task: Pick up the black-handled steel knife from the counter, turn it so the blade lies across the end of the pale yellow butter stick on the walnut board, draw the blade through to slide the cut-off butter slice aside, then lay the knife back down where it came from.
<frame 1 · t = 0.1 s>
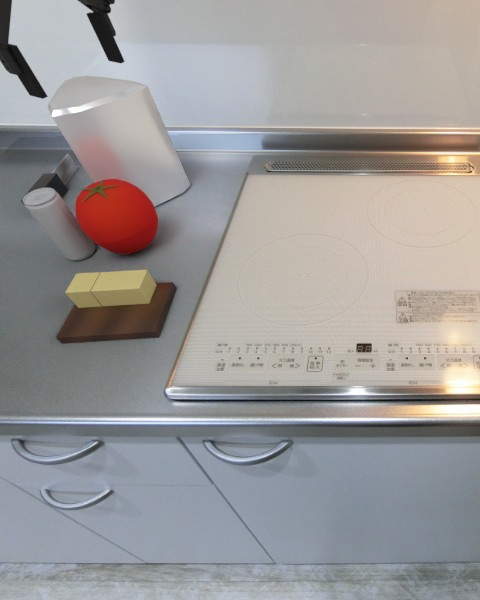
hand: (80, 77, 65), 25 cm above the counter, tool pointing down, fingers open, 13 cm apart
butter block: (130, 295, 68), point 1 cm above the counter, touching board
white plastic container: (140, 200, 87), on the counter
board: (122, 314, 67), on the counter
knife: (61, 190, 89), on the counter
butter slice: (95, 297, 68), point 1 cm above the counter, touching board
tomato: (136, 247, 78), on the counter
beverage can: (82, 253, 77), on the counter
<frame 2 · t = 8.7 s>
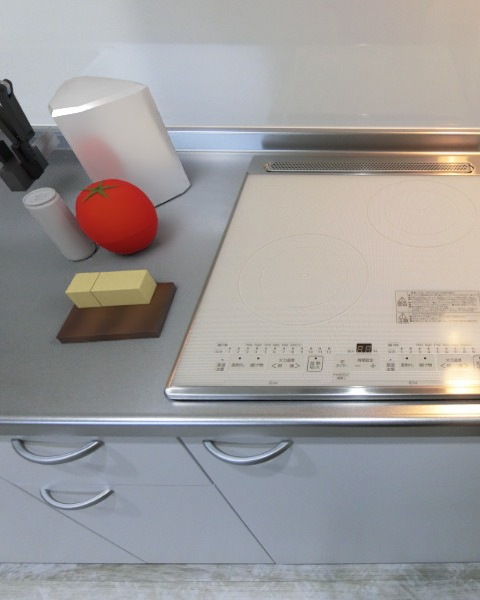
hand: (30, 175, 82), 6 cm above the counter, tool pointing down, fingers closed on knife, 3 cm apart
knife: (42, 164, 85), point 6 cm above the counter, touching gripper
everything else where it was.
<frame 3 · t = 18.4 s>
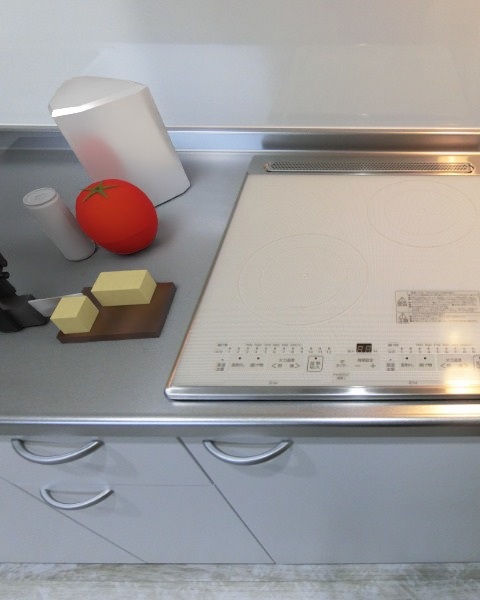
hand: (16, 320, 66), 1 cm above the counter, tool pointing down, fingers closed on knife, 3 cm apart
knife: (46, 317, 66), point 1 cm above the counter, tilted 6°, touching butter slice, gripper
butter slice: (82, 322, 64), point 1 cm above the counter, touching board, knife
everything else where it was.
when the fingers open (0 cm above the counter, at t = 29.4 s): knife stays where it is, on the counter.
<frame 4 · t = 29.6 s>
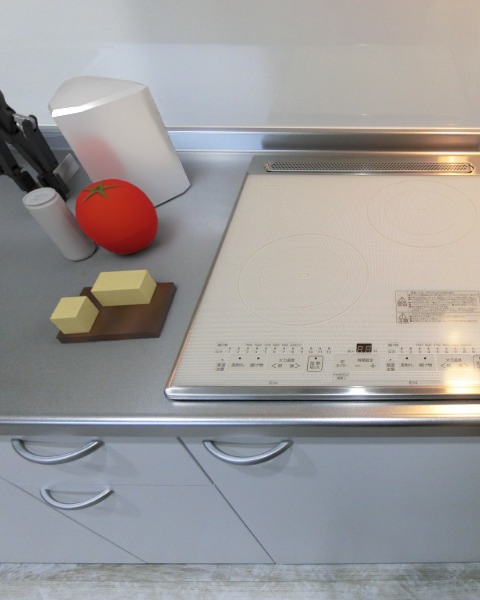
hand: (53, 202, 86), 0 cm above the counter, tool pointing down, fingers open, 3 cm apart
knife: (63, 190, 89), on the counter
butter slice: (82, 322, 64), point 1 cm above the counter, touching board
everything else where it was.
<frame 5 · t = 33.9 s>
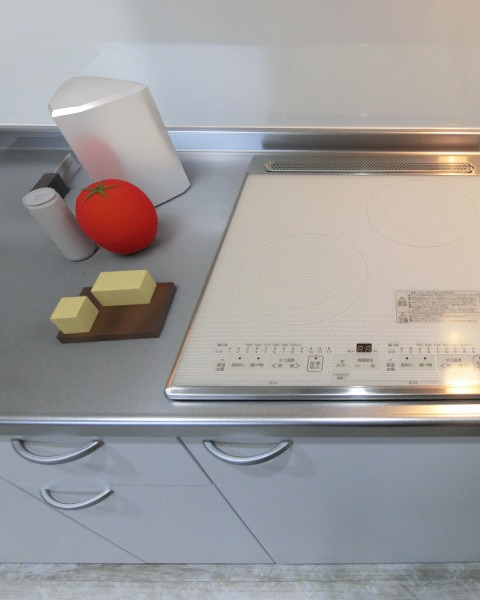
nothing on the counter moved.
at the end: butter slice moved 4.9 cm from its start; butter slice touching board; the gripper is holding nothing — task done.
